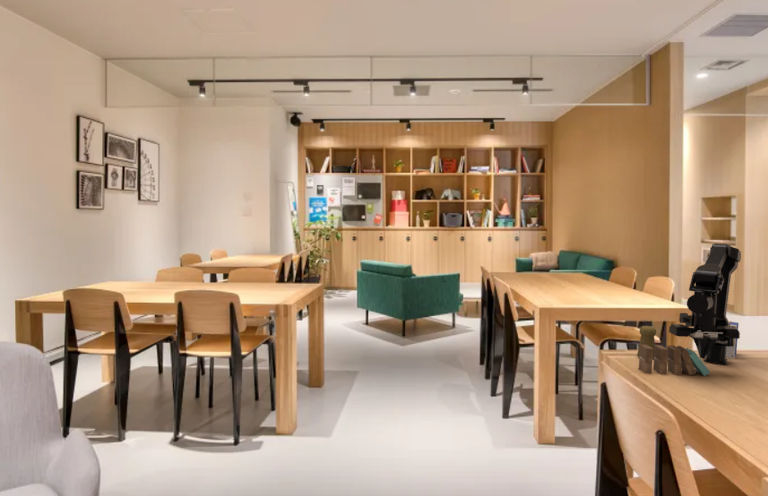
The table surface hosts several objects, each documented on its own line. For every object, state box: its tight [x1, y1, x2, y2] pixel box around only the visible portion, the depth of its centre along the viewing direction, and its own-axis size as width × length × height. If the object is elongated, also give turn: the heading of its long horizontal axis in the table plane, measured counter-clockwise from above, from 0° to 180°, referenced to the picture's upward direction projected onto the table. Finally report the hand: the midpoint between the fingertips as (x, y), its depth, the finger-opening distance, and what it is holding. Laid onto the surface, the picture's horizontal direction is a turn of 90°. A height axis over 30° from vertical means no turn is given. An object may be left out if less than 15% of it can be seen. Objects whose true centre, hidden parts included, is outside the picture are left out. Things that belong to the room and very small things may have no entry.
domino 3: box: [666, 344, 682, 376], centre depth 166 cm, size 2×5×8 cm, turn 174°
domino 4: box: [676, 345, 697, 376], centre depth 166 cm, size 2×5×8 cm, turn 174°
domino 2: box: [652, 344, 668, 375], centre depth 167 cm, size 2×5×8 cm, turn 175°
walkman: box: [726, 320, 739, 359], centre depth 187 cm, size 8×3×12 cm, turn 141°
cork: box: [636, 325, 657, 361], centre depth 183 cm, size 6×6×11 cm
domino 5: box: [685, 347, 711, 377], centre depth 166 cm, size 2×5×8 cm
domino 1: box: [638, 344, 653, 375], centre depth 167 cm, size 2×5×8 cm, turn 174°
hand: (702, 358), depth 165 cm, fingers closed
